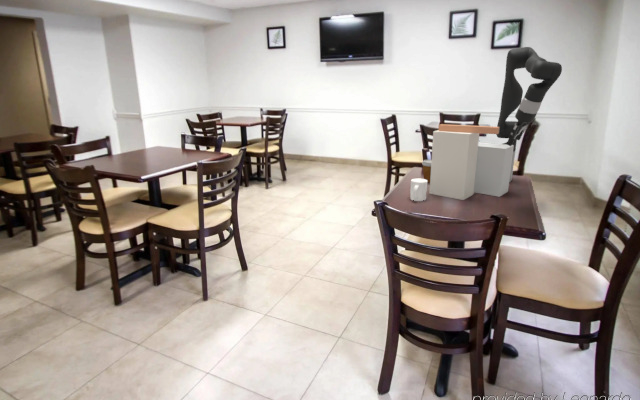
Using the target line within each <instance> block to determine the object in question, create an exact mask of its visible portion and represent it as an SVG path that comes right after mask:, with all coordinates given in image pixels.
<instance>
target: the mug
mask: <svg viewBox="0 0 640 400" xmlns="http://www.w3.org/2000/svg"><path fill="white" fill-rule="evenodd" d="M427 182H428V181H427V180H426V179H424V178H420V177H419V178H418V177H417V178H411V180H410V187H409V188H410V191H409V192H410V193H409V195H410V197H409V198H410V200H411V201H413V200H414V201H413V202H424V201H426V200H427V190H428V183H427ZM423 200H424V201H423Z"/></svg>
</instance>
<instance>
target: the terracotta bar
mask: <svg viewBox="0 0 640 400" xmlns="http://www.w3.org/2000/svg"><path fill="white" fill-rule="evenodd" d="M438 130H439V131H447V132H465V133H479V134H483V135H484V134H485V135H486V134H487V135H496V134H499V127H497V126H491V125H490V126H487V125H464V124H448V123H447V124H444V123H441V124H438Z"/></svg>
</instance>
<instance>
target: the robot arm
mask: <svg viewBox="0 0 640 400" xmlns="http://www.w3.org/2000/svg"><path fill="white" fill-rule="evenodd" d="M520 69H525V70H526V71H527V72H528V73H529V74H530V77H531V78H533V79H535V80H541V81H540V82H536V83H531V84H530V85H529V86H528V88H527V90H526V92H525V95H524V90H523V87H522V85H521V84H520V83H519V81H518V80H517V78H516V76H515V70H520ZM562 71H563V67H562V64H561V63H559V62H557V61H548V60H547V59H545V58H543V57H542V56H540V55H538V53H537V52H536V51H535V49H533V48H532V47H531V46H523V47H518V48H513V49H512V48H511V49H510V50H508V52H507V55H506V63H505V76H504V83H503V90H502V93H501V94H502V95H501V100H500V101H501V102H500V109H499V111H500V112H499V116H498V121H497V126H496V127H499V134H495V135H496V137H497V138H498V139H507V141H506V142H504V143H502V144H506V145H509V146H511V145H514V148H513V156H512V164H511V172H510V180H509V183H511V182H512V180H513V173H514V166H515V165H514V164H515V158H516V157H515V156H516V150H517V149H516V148H517V141H520V140H521V138H522V136H523V134H524V133H525V132H526V130H528V127H529V125H530V124H531V123H533V121H534V120H535V118H536V116H537V114H538V111H539V109H540V108H541V105H542V102H543V100H544V98H545V96H546V94H547V92H548V91H549V90H550V89H551V87H552V86H553V85H554V84H555V83H556V81H557V80H559V78H560V76H561V74H562ZM523 95H524V96H523ZM515 111H516V113H515V114H514V115H515V116H514V117H515V119H516V120H517V121H515V120H514V121H513V120H511V121H509V120H507V119H508V118H509V116H510V115H512V114H513V113H514V112H515Z"/></svg>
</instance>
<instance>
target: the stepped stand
mask: <svg viewBox="0 0 640 400" xmlns="http://www.w3.org/2000/svg"><path fill="white" fill-rule="evenodd" d="M479 141H480V133H465V132H447V131H439V129H437V130H434V131H432V146H431V147H432V148H431V159H430V160H431V176H430V183H429V194H431V195H435V196H438V197H439V196H441V197H443V198H444V197H446V198H451V199H456V200H461V201H465V200H466V199H468V198H470V197H471V196H473V195H474V194H476V193H477V194H481V195H488V196H492V197H502V196H503V195H505V194H506V193H508V192H509V186H510V182H509V180H510V172H511V164H512V156H513V148H514V145H511V146H509V145H506V144H503V143H495V142H494V143H493V142H481V141H480V142H479Z"/></svg>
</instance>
